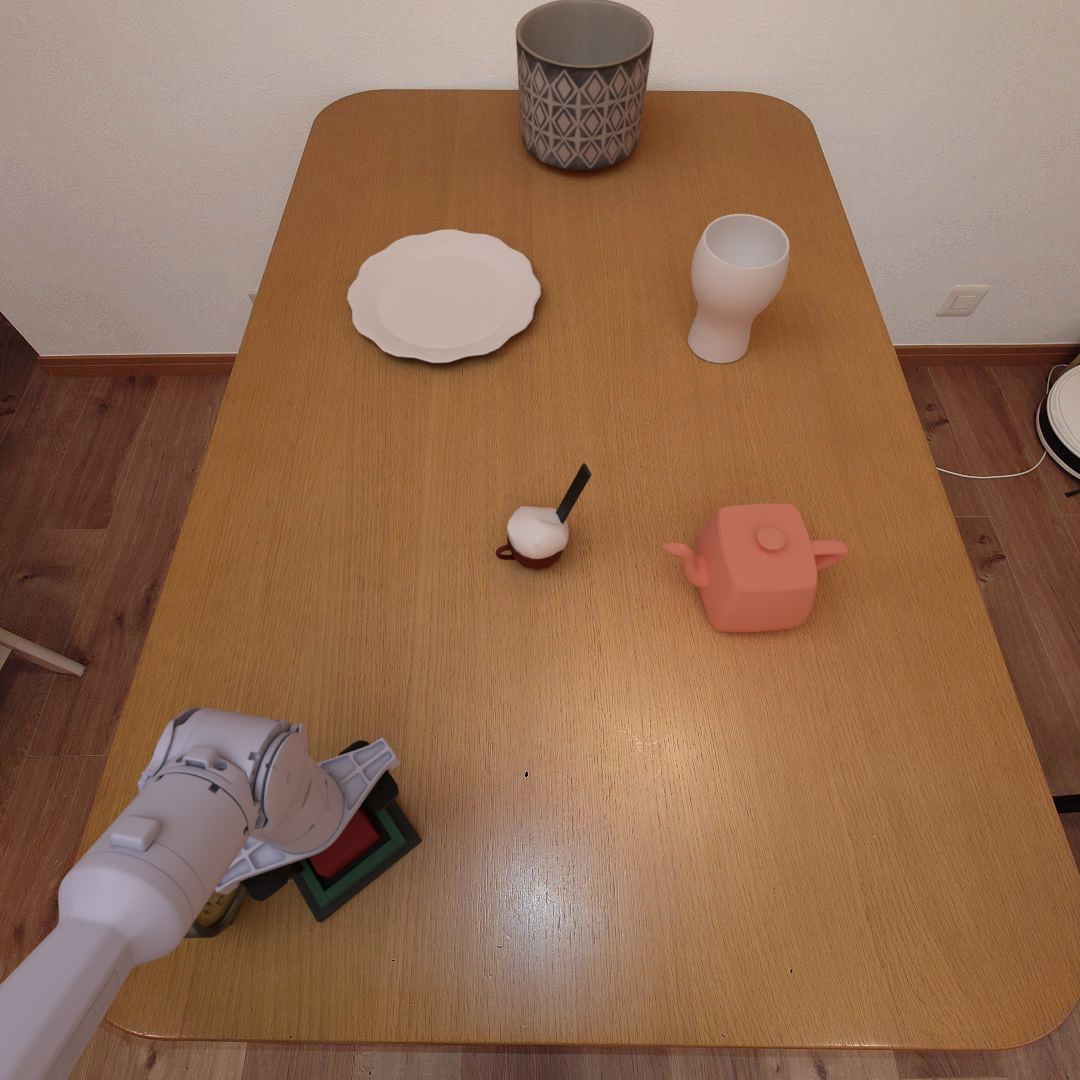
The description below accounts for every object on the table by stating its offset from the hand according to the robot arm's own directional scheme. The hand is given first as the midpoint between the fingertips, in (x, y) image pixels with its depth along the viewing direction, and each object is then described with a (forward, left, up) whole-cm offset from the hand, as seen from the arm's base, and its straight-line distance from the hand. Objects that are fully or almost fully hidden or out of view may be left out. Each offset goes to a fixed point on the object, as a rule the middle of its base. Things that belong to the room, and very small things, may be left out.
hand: (335, 830), depth 59 cm
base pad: (0, 0, -3) cm, 3 cm away
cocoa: (+31, +12, -4) cm, 33 cm away
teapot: (+44, -4, -4) cm, 44 cm away
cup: (+68, +22, -4) cm, 71 cm away
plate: (+45, +50, -4) cm, 67 cm away
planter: (+82, +66, -4) cm, 105 cm away
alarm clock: (-9, +4, -4) cm, 11 cm away
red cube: (0, 0, -2) cm, 2 cm away
